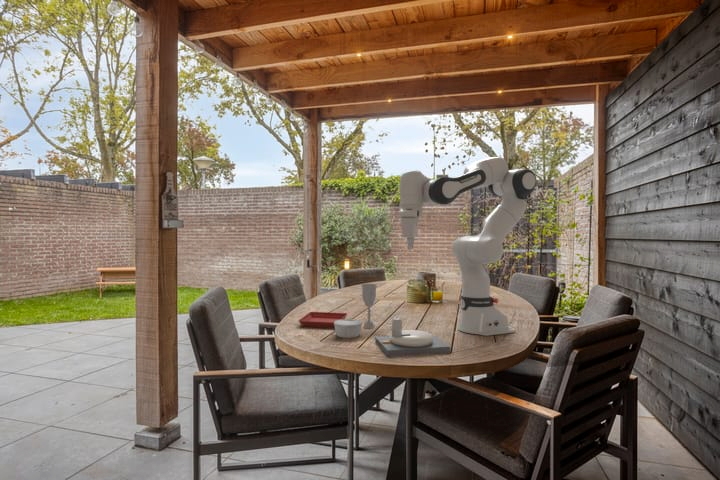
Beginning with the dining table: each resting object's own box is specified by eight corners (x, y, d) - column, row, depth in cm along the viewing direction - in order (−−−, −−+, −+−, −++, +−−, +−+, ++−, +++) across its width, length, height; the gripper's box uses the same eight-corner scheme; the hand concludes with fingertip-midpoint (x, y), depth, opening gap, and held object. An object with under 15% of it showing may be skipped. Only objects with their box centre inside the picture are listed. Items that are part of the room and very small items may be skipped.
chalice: (375, 329, 171) (375, 286, 171) (359, 328, 172) (359, 285, 172) (378, 325, 178) (378, 284, 178) (362, 324, 180) (362, 283, 179)
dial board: (431, 339, 156) (431, 332, 156) (450, 352, 139) (450, 344, 139) (375, 342, 152) (375, 335, 152) (387, 356, 135) (387, 348, 135)
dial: (421, 334, 155) (421, 312, 155) (440, 344, 140) (440, 321, 140) (384, 336, 151) (384, 315, 150) (399, 348, 136) (399, 324, 136)
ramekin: (358, 330, 169) (358, 318, 169) (365, 337, 158) (365, 324, 158) (331, 332, 166) (331, 319, 166) (336, 339, 156) (336, 325, 155)
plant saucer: (339, 329, 172) (339, 321, 172) (297, 327, 175) (297, 320, 175) (348, 320, 190) (348, 313, 190) (310, 318, 193) (310, 311, 193)
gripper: (405, 214, 169) (405, 247, 169) (399, 212, 149) (398, 250, 149) (421, 214, 167) (421, 248, 168) (416, 211, 147) (416, 250, 148)
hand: (410, 249), depth 158 cm, fingers closed
